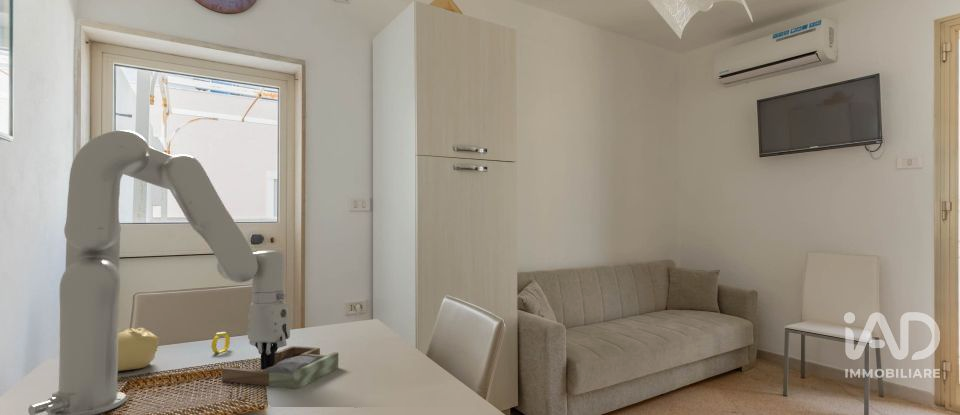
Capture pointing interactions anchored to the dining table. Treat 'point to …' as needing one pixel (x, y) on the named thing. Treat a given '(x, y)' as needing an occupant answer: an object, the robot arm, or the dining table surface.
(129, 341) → the sculpture
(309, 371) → the channel
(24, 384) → the dining table surface
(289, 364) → the stone block
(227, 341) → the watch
